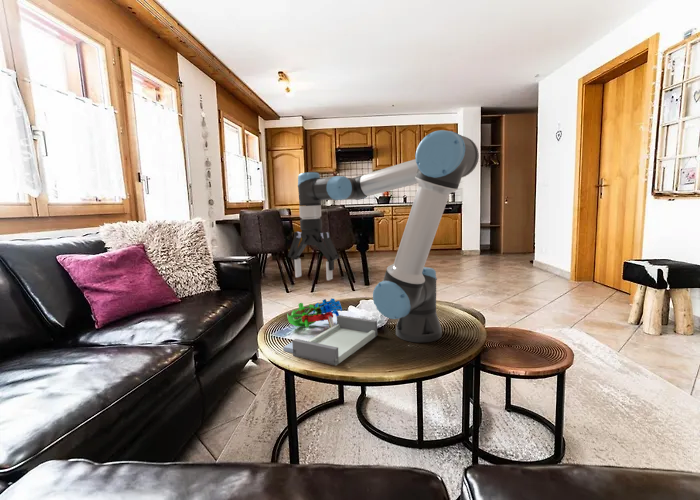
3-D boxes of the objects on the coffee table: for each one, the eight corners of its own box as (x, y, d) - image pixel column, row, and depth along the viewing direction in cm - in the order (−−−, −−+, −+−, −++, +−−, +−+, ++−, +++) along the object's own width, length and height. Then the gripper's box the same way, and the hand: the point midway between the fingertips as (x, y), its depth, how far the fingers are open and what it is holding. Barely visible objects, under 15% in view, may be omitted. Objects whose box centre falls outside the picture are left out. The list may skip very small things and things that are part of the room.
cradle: (377, 335, 121) (376, 320, 121) (335, 366, 99) (335, 349, 98) (339, 328, 129) (338, 315, 128) (293, 356, 107) (292, 340, 106)
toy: (338, 316, 138) (342, 296, 131) (344, 336, 132) (349, 317, 124) (286, 323, 132) (287, 302, 125) (290, 344, 126) (291, 324, 118)
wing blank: (297, 344, 116) (297, 338, 116) (307, 346, 114) (307, 340, 114) (283, 352, 110) (283, 346, 110) (293, 355, 108) (293, 349, 108)
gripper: (347, 217, 122) (349, 278, 125) (289, 217, 134) (292, 273, 137) (335, 218, 115) (337, 283, 118) (276, 219, 128) (279, 277, 131)
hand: (313, 278), depth 128 cm, fingers open, 13 cm apart
